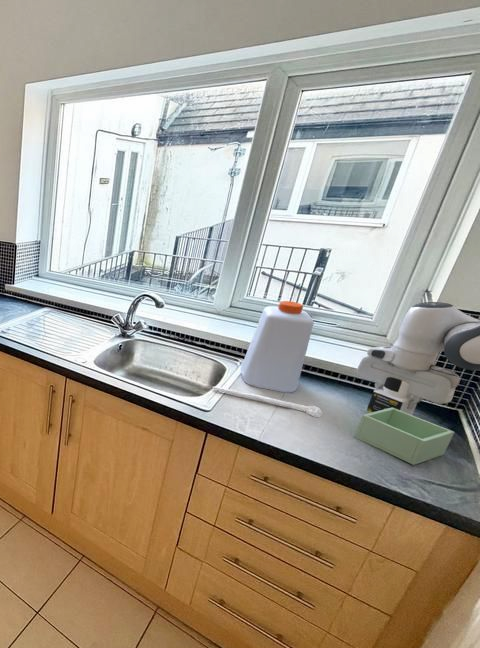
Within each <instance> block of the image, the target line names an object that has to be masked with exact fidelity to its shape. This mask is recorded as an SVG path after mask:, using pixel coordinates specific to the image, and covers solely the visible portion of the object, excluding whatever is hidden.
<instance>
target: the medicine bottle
mask: <svg viewBox="0 0 480 648" xmlns="http://www.w3.org/2000/svg"><path fill="white" fill-rule="evenodd" d="M382 387H383V389H378V390H376V389H374V390H373V391H372V393H371V395H370V396H371V397H370V400H369V402H368V405H367V407H366V412H367V413H372V412H376V411H380V410H384V409H388V408H392V407H393V408H395V409H398V410H400V411H403V412H405V413H408V414H410V415H413V414H414V411H415V409H416V407H417V405H418V403H416V404H415V406H414V408H413V409H411V410H409V409H407V407H408V404H409V403H410V402H412V401H414V400H415V399H413V396H414V395H412V394H409V393H407V390H408V388H409V384H408V383H406V382H405V381H402V380H399V379H396V378H392V377H388V378H386V381H385V384H384V386H382Z"/></svg>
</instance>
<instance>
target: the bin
mask: <svg viewBox="0 0 480 648" xmlns="http://www.w3.org/2000/svg"><path fill="white" fill-rule="evenodd" d="M354 433H355V434H354V438H356V439H357V440H360V441H362V442H364V443H366V444H368V445H371V447H375V448H377V449H379V450H381V451H383V452H385V453H387V454H390V455H391V456H394V457H396V458H398V459H400V460H402V461H404V462H406V463H409V464H410V465H412V466H415V465H418V464H420V463H423V462H426V461H430V460H432V459H435V458H436V459H437V458H438V457H441V456H444V455H445V453H446V450H447V448H448V446H449V444H450V442H451V441H452V438H453V436H454V435H455V431H453V430H450V429H449V428H445V427H443V426H441V425H438V424H436V423H433V422H431V421H428V420H425V419H423V418H420V417H418V416H415V415H413V414H412V415H410V414H408V413H405V412H403V411H400V410H398V409H395V408H393V407H392V408H388V409H384V410H380V411H376V412H372V413H370V412H367V413H365V414H362V415H361V418H360V421H359V423H358V426H357V428H356V431H355V432H354Z"/></svg>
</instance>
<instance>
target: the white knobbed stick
mask: <svg viewBox="0 0 480 648" xmlns="http://www.w3.org/2000/svg"><path fill="white" fill-rule="evenodd" d="M212 390H214V391H217V392H221V393H225V394H228V395H232V396H235V397H241V398H243V399H250V400H254V401H259V402H263V403H267V404H272V405H276V406H280V407H284V408H287V409H292V410H296V411H301V412H302V413H303V412H304V413H306V414H307V415H309V416H311V417H314V418H321V417H322V413H323V412H322V409H321V408H320V407H318V406H315V405H309V406H307V405H303V404H299V403H295V402H294V403H293V402H291V401H290V402H289V401H285V400H280V399H276V398H271V397H267V396H263V395H259V394H255V393H249V392H244V391H240V390H235V389H231V388H224V387H221V386H220V387H219V386H212Z"/></svg>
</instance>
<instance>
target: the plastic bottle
mask: <svg viewBox="0 0 480 648" xmlns="http://www.w3.org/2000/svg"><path fill="white" fill-rule="evenodd" d="M303 309H304V306H303V304H302V303H299V302H295V301H291V300H290V301H289V300H282V301H280V302H279V304H278V306H275V305H274V306H273V305H270V306H266V307H264V308H263V310H262V313H261V315H260V318H259V320H258V323H257V325H256V328H255V331H254V334H253V336H252V338H251V341H250V343H249V346H248V349H247V351H246V354H245V355H244V359H243V361H242V364H241V366H240V373H241V376H242V380H243V382H244V383H246V384H247V385H249V386H250V387H251V386H252V387H254V388H259V389H264V390H268V391H269V390H270V391H274V392H279V393H286V394H288V393H289V394H291V393H294V392H295V391H296V390H297V389H298V385H299V381H300V377H301V374H302V370H303V367H304V362H305V359H306V354H307V350H308V347H309V343H310V340H311V335H312V332H313V328H314V323H315V322H314V319H313V318H312V317H311V316H310V314H309V313H308V312H306V311H305V310H303Z"/></svg>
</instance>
